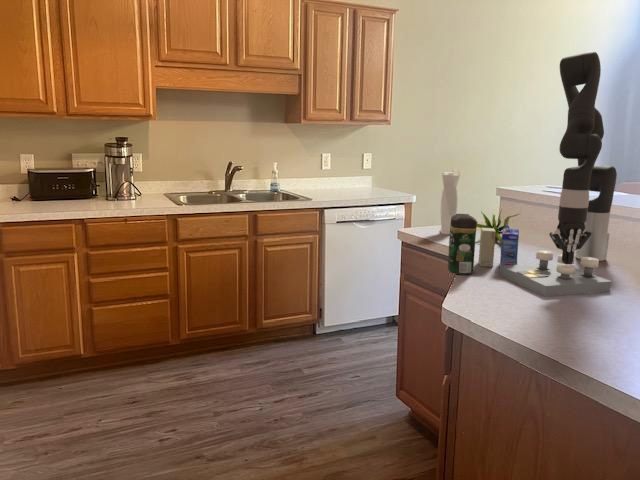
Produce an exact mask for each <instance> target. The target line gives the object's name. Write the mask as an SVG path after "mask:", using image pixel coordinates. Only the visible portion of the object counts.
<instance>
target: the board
mask: <svg viewBox="0 0 640 480" xmlns="http://www.w3.org/2000/svg"><path fill="white" fill-rule="evenodd" d="M539 264H540V263H527V264H524V263H523V264H517V265H507V266H501V269H499V270H500V273H499V276H501V277H503V278H505V279H507V280H509V281H512V282H514V283H516V284H518V285H521V286H523V287H525V288H526V289H529V290H531V291H532V292H535V293H538V294H539V295H541V296H543V297H552V296H553V297H554V296H564V295H567V296H570V295H579V294H593V293H605V292H611V288H612V280H609V279H607V278H604V277H601V276H598V275H595V274H593V276H585V275H584V270H582V269H579V268H577V267H575V274H570V278H569V279H568V280H563V279H561V273H558V272H557V265H558V264H561V263H558V262H548V267H547V269H541V268H539Z"/></svg>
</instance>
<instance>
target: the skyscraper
mask: <svg viewBox="0 0 640 480" xmlns="http://www.w3.org/2000/svg"><path fill="white" fill-rule="evenodd" d="M454 171H456V172H457V173H458V174H456V172H454ZM441 176H442V184H443V189H442V191H441V192H442V193H441V198H440V199H441V200H440V224H441V228H440V230H439V232H440V233H441V235H449V236H450V223H451V217H452V216H454V215H456V214H457V212H458V191H457V186H458V183H459V179H460V176H461V174H460V172H459V170H458V169H456V168H454V169H452V170H451V171H450V172H449V171H444V172H442V174H441Z"/></svg>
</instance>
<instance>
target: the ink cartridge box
mask: <svg viewBox="0 0 640 480" xmlns="http://www.w3.org/2000/svg"><path fill="white" fill-rule="evenodd" d="M506 226H507V228H503V230H502V231H501V232H502V234H501V238H502V241H501V243H500V261H499V262H500V263H499V270H501V266H507V265H518V255H519V237H520V229H518V228H510V226H509V223H508V224H506Z"/></svg>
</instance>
